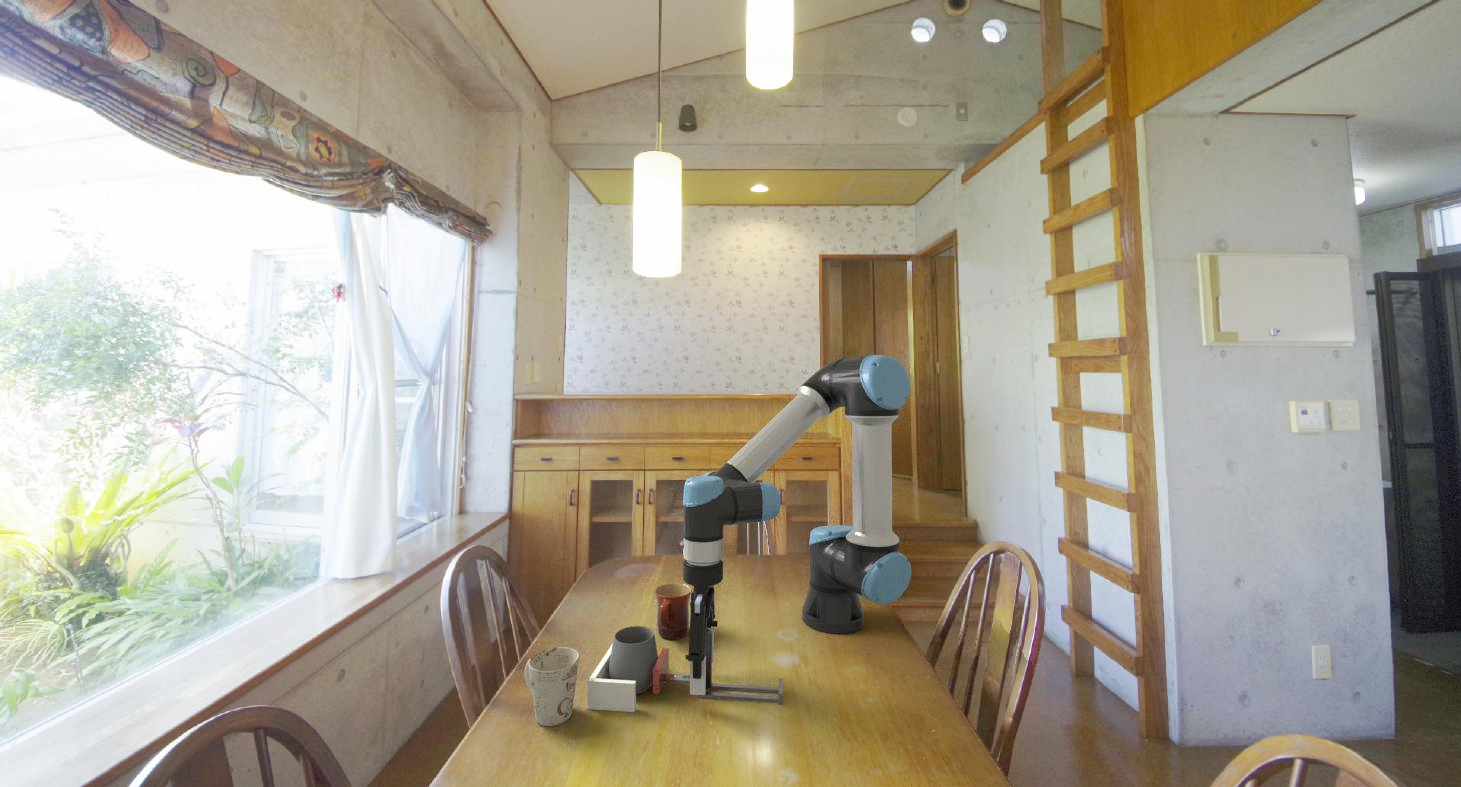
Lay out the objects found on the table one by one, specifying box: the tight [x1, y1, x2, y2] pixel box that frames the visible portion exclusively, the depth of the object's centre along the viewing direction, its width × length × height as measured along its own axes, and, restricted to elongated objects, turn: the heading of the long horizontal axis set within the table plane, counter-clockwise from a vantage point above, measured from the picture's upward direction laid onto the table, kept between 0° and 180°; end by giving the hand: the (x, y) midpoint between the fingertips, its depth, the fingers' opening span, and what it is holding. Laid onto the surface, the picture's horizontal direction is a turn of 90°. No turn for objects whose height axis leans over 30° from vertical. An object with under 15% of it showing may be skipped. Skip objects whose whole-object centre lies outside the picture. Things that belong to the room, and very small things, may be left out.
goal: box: [587, 643, 637, 713], centre depth 101 cm, size 8×15×5 cm, turn 174°
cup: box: [609, 625, 659, 695], centre depth 101 cm, size 10×9×10 cm
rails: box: [697, 678, 784, 706], centre depth 99 cm, size 16×5×2 cm, turn 85°
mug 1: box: [524, 646, 580, 727], centre depth 93 cm, size 8×13×10 cm, turn 58°
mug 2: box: [653, 582, 693, 640], centre depth 121 cm, size 12×9×10 cm
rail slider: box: [652, 629, 713, 694], centre depth 100 cm, size 10×8×10 cm
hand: (702, 676), depth 99 cm, fingers open, 10 cm apart
